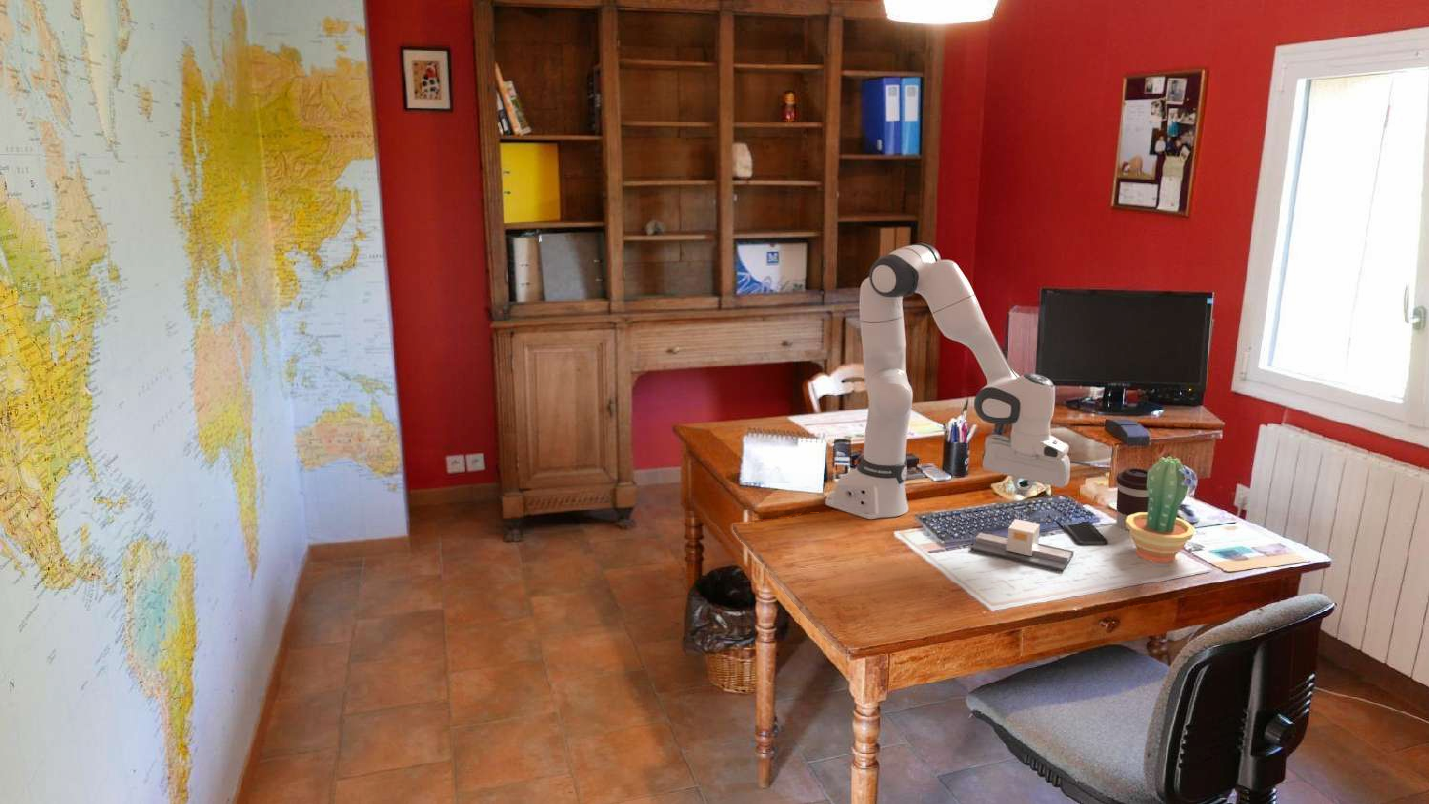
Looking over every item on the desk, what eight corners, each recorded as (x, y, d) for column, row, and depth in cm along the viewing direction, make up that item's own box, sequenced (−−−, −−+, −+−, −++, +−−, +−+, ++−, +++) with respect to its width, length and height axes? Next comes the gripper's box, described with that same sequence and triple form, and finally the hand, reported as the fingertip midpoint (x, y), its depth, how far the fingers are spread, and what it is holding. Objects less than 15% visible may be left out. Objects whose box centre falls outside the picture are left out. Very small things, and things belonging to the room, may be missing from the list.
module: (1005, 550, 236) (1007, 528, 234) (1013, 541, 241) (1015, 519, 240) (1030, 556, 233) (1033, 533, 231) (1037, 546, 238) (1040, 524, 237)
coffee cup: (1158, 534, 249) (1166, 479, 244) (1119, 533, 249) (1126, 478, 244) (1142, 518, 258) (1150, 465, 254) (1105, 518, 258) (1112, 465, 254)
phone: (1078, 542, 242) (1057, 517, 256) (1077, 546, 242) (1056, 521, 257) (1109, 542, 242) (1087, 518, 256) (1109, 546, 242) (1086, 522, 257)
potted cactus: (1150, 572, 228) (1164, 472, 221) (1108, 544, 242) (1120, 450, 235) (1205, 564, 232) (1221, 466, 225) (1160, 538, 246) (1174, 444, 239)
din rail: (970, 551, 239) (971, 542, 238) (983, 535, 248) (984, 527, 247) (1062, 572, 228) (1063, 564, 227) (1073, 555, 237) (1074, 546, 236)
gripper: (982, 435, 235) (975, 488, 239) (1069, 454, 225) (1060, 509, 229) (990, 429, 241) (983, 481, 245) (1075, 446, 230) (1067, 500, 234)
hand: (1021, 495), depth 237 cm, fingers closed
